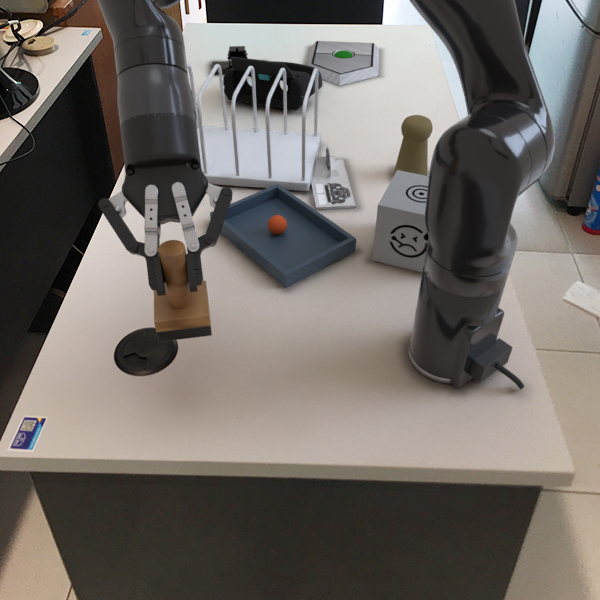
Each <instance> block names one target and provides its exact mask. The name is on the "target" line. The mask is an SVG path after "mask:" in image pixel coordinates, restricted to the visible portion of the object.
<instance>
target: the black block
mask: <svg viewBox="0 0 600 600" xmlns="http://www.w3.org/2000/svg"><path fill="white" fill-rule="evenodd" d="M227 52H228V53H227V57H226V59H227V60H218V61H217V60H213V61H211V69H210V72H211V71H212V69H213V67H214V66H215V65H216V64H219V65H220V66H221V70H222V76H224V75H225V74H226V72H227V71H228V70H229V69H231V68H233V65H232V64H231V56H232V57H239V58H247V59H249V58H248V52H247V49H246V45H234V46H233V45H230V46H228V51H227ZM262 60H263V59H262ZM263 61H265V60H263ZM213 76H219V72H218V69H217V70H216V72H215V74H214V75H213Z"/></svg>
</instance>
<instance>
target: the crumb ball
mask: <svg viewBox="0 0 600 600" xmlns="http://www.w3.org/2000/svg"><path fill="white" fill-rule="evenodd" d="M286 228H287V222H286V220H285V218H284V217H282V216H280V215H275V216H273V217H271V218H270V219H269V221H268V229H269V230H270V232H271V233H273V234H276V235H278V234H282V233H283V232H284V231H285V230H286Z"/></svg>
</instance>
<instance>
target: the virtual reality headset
mask: <svg viewBox="0 0 600 600" xmlns="http://www.w3.org/2000/svg"><path fill="white" fill-rule="evenodd" d="M247 58H248V57H247ZM247 58H239V57H232V56H231V60H230V61H231V64H232V65H233V68H231V69H229V70H228V71H227V72H226V74H225V75H222V76H223V85H224V94H225V98H227V100H228V101H231V102H232V97H233V94H234V92H235V90H236V88H237V86H238V84H239V83H240V81H241V79H242V77H243V76H244V74H245V72H246V70H247V69H248V67H249V66H253V68H254V71H255V85H256V106H257V105H259V106H264V107H266V101H267V97H268V94H269V92H270V90H271V88H272V86H273V84H274V81H275V79H276V77H277V75H278V73H279V71H280V69H281V68H285V70H286V86H287V110H292V111H298V110H299V109H300V108H301V107H303V101H304V97H305V94H306V91H307V88H308V85H309V82H310V79H311V76H312V73H313V70H314V69H315V68H314V67H311V66H307V65H306V64H302V63H297V62H289V61H278V60H277V61H273V60H272V61H271V60H264V61H263V59H255V58H248V59H247ZM248 77H250V79H252V75H251V71H250V73H249V75H248V76H247V78H246V80H245V82H244V84H243V85H242V87H241V89H240V91H239V93H238V95H237V97H236V102H237V103H245V104H251V105H253V93H252V85H250V84H249V82H248ZM281 81H282V82H283V73H282V75H281V78H280V80H279V82H278V84H277V86H276V88H275V91H274V93H273V95H272V97H271V100H270V107H271V108H278V109H284V101H283V87H282V86H281ZM322 87H323V79H322V77H321V73H320V72H319V71H318V91H319V90H320V89H321V88H322ZM313 95H315V79H314V82H313V85H312V88H311V91H310V94H309V98H308V100H309V99H310V98H311V96H313Z"/></svg>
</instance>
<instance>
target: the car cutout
mask: <svg viewBox="0 0 600 600" xmlns="http://www.w3.org/2000/svg"><path fill="white" fill-rule="evenodd" d="M310 186H311V191H312V196H313V202H314V206H315V208H314V209H315V210H316V211H318V210H335V209H336V210H337V209H353V208H356V202H355V198H354V195H353V190H352V187H351V184H350V179H349V176H348V172H347V168H346V165H345V161H344V159H343V158H342V159H341V158H340V159H336V158H335V157H334V156H331V153H330V149H329V146H327V148H326V149H325V156H319V157H318V158H317V160H316V164H315V168H314V172H313V176H312V180H311V184H310Z"/></svg>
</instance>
